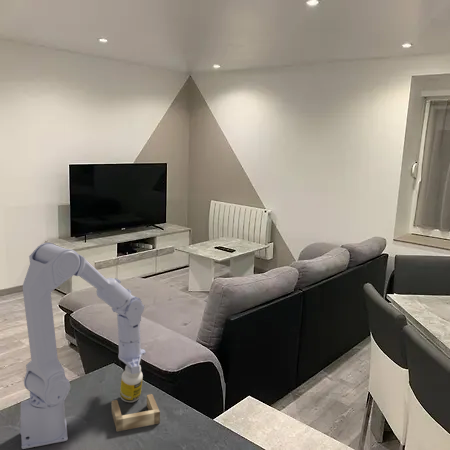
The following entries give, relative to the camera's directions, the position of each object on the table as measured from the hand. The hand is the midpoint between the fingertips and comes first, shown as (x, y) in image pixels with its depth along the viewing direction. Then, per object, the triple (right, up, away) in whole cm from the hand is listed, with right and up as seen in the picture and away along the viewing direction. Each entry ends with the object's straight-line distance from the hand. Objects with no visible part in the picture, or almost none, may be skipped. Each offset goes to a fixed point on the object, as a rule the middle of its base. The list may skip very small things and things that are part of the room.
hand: (131, 384), depth 122 cm
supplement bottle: (0, -2, -2) cm, 3 cm away
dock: (+3, -4, -10) cm, 11 cm away
